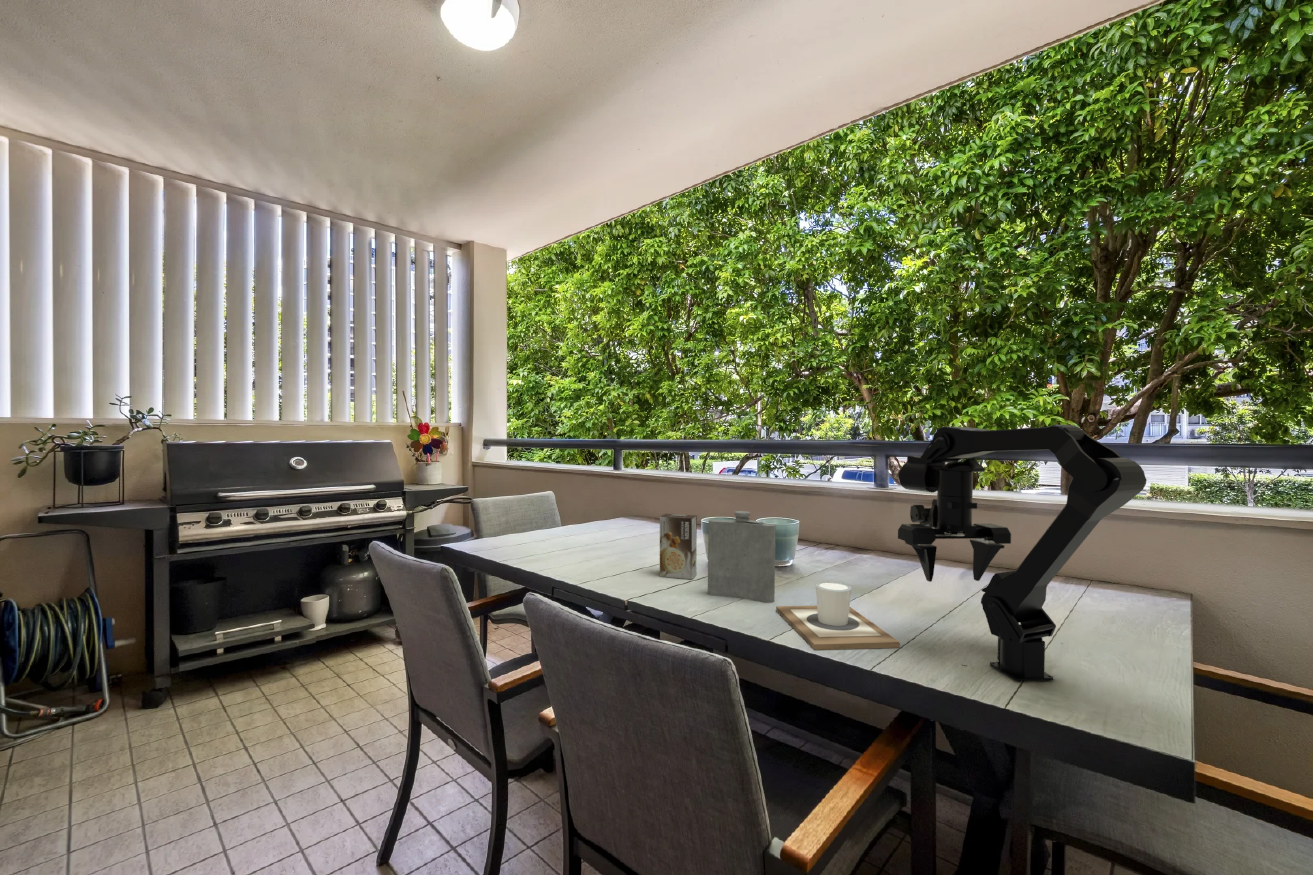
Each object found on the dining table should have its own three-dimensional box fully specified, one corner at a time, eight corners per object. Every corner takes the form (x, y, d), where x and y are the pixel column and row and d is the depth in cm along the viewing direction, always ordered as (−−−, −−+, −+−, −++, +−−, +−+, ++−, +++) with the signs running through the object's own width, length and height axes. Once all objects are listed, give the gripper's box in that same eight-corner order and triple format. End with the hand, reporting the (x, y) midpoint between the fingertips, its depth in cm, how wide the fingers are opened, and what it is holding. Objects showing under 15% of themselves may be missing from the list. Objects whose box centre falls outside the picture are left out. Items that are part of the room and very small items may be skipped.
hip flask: (705, 594, 135) (706, 510, 135) (711, 590, 139) (712, 508, 139) (772, 603, 129) (774, 515, 129) (776, 598, 133) (777, 512, 132)
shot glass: (853, 628, 110) (854, 591, 109) (816, 625, 111) (817, 589, 111) (848, 616, 116) (849, 582, 116) (813, 614, 118) (814, 580, 117)
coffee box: (697, 574, 154) (698, 514, 154) (692, 579, 148) (692, 518, 148) (665, 571, 157) (665, 513, 157) (658, 576, 151) (659, 516, 151)
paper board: (899, 647, 103) (900, 640, 103) (814, 649, 102) (814, 642, 102) (847, 609, 125) (847, 603, 125) (776, 610, 124) (776, 604, 124)
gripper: (973, 490, 113) (971, 569, 113) (883, 490, 111) (882, 570, 111) (1014, 497, 102) (1012, 584, 102) (915, 497, 100) (913, 586, 100)
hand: (952, 580), depth 104 cm, fingers open, 9 cm apart
